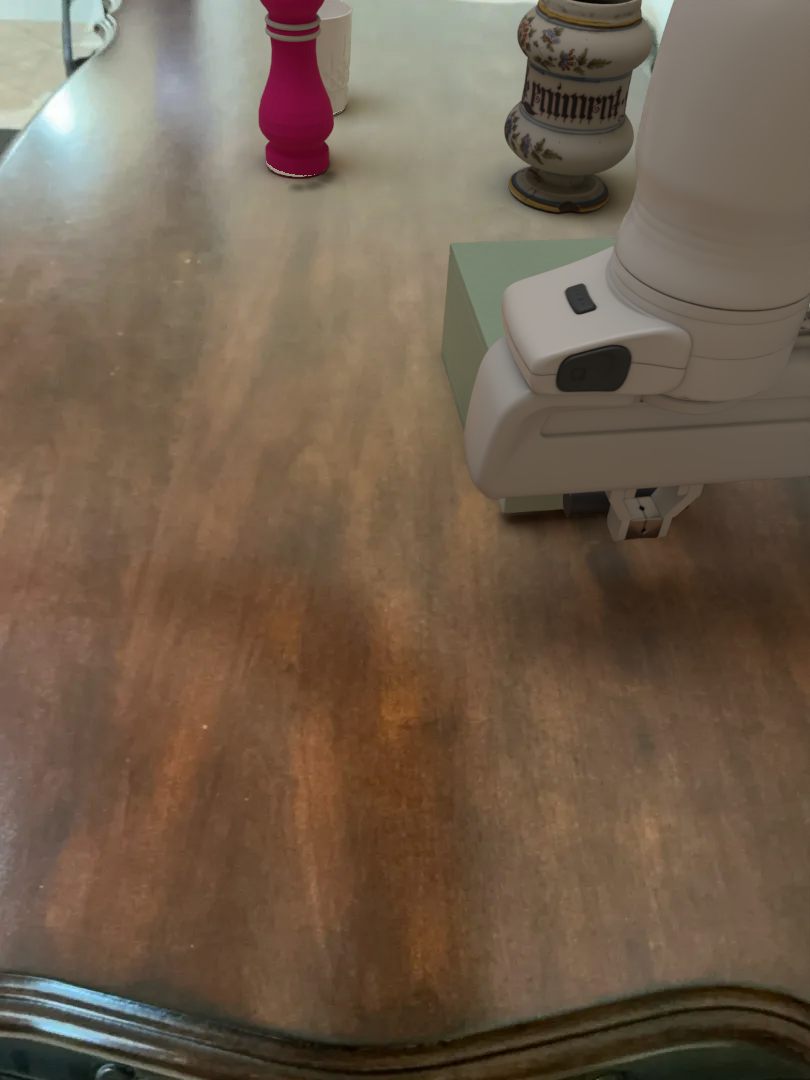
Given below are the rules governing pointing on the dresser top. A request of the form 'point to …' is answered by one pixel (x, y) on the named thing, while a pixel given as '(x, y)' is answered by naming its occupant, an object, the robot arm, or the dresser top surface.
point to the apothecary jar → (574, 99)
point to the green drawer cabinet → (492, 297)
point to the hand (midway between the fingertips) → (635, 531)
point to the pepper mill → (295, 91)
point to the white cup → (335, 50)
